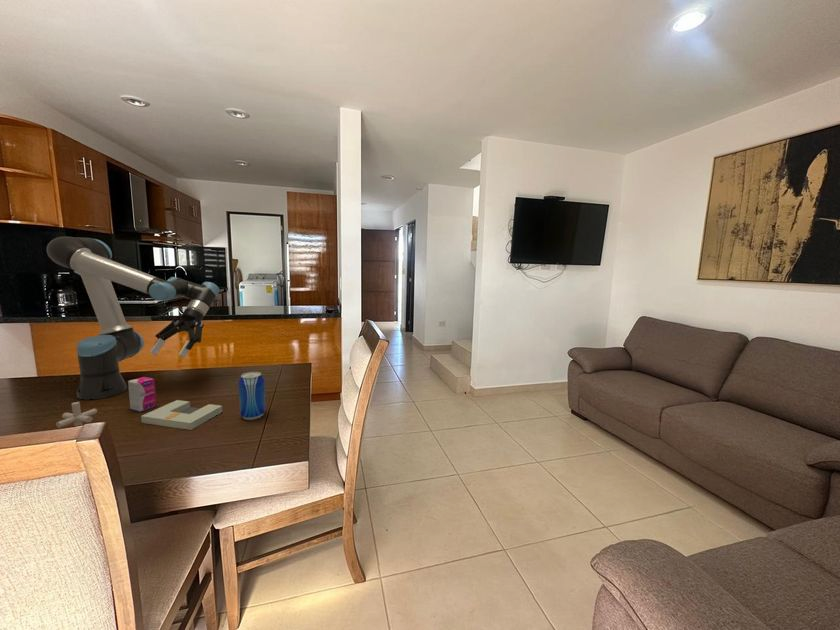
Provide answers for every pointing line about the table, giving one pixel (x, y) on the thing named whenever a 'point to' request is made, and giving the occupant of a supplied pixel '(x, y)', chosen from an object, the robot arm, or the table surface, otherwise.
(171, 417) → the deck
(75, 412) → the pipe connector
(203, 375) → the table surface
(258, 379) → the beer can
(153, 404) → the supplement box
